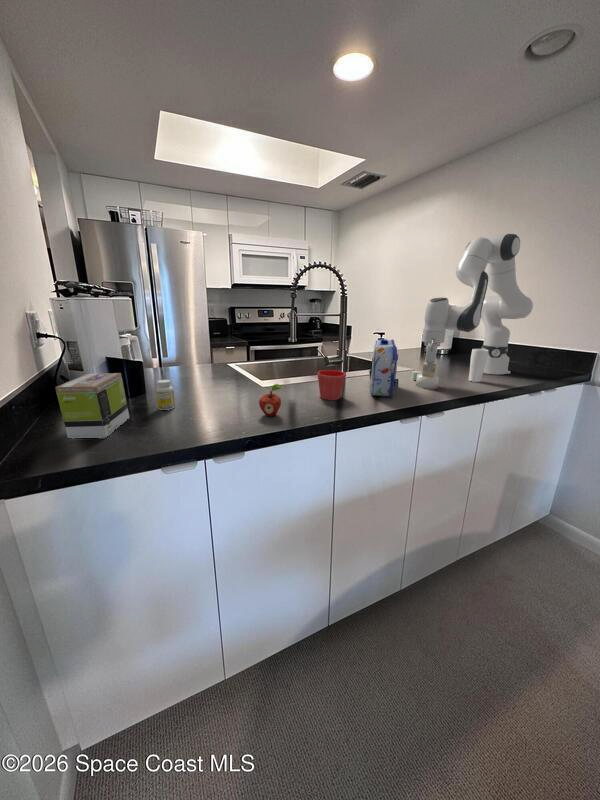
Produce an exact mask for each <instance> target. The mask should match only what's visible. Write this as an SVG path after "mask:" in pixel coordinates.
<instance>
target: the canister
mask: <svg viewBox="0 0 600 800" xmlns="http://www.w3.org/2000/svg"><path fill="white" fill-rule="evenodd" d="M439 379H440V376H439V375H438V374H435V376H434V377H425V376H422V373H420V374H417V380H416V381H415V386H416V387H417V386H418V387H417V388H420V387H421V388H420V389H424V388H426V389H425V390H436V389H438V385H439ZM435 388H436V389H435Z"/></svg>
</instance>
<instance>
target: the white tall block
mask: <svg viewBox="0 0 600 800" xmlns="http://www.w3.org/2000/svg"><path fill="white" fill-rule="evenodd" d="M488 352H489V350H486V349H481V348H472V350H471V355H470V362H469V363H470V364H469V372H468V373H469V374H468V381H469V382H471V381H472V382H471V383H480V382H482V380H483V379H482V378H483V376H484V375H483V374H484V373H483V372H484V368H485V365H486V362H487V358H488Z"/></svg>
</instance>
